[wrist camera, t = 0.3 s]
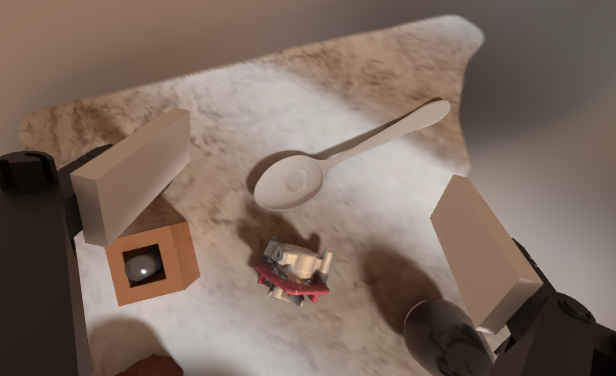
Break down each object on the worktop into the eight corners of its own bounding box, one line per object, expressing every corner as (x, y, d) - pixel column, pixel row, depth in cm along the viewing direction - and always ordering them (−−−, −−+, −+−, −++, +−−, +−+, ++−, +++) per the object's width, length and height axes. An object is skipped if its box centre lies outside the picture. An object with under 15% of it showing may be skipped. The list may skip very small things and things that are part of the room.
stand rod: (177, 262, 49) (150, 277, 40) (158, 267, 49) (127, 283, 40) (173, 244, 49) (145, 255, 40) (154, 248, 49) (122, 260, 40)
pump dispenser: (392, 352, 50) (434, 421, 35) (399, 288, 50) (444, 328, 35) (453, 358, 50) (521, 429, 35) (460, 294, 51) (530, 337, 35)
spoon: (267, 222, 50) (266, 223, 47) (245, 178, 50) (243, 177, 47) (451, 129, 53) (460, 125, 50) (431, 87, 53) (439, 81, 50)
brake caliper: (242, 305, 47) (248, 276, 37) (265, 244, 54) (275, 206, 44) (313, 328, 47) (337, 304, 38) (327, 263, 54) (349, 230, 45)
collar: (200, 276, 49) (184, 289, 42) (144, 290, 49) (118, 306, 42) (187, 221, 49) (169, 225, 42) (131, 234, 49) (103, 241, 42)
